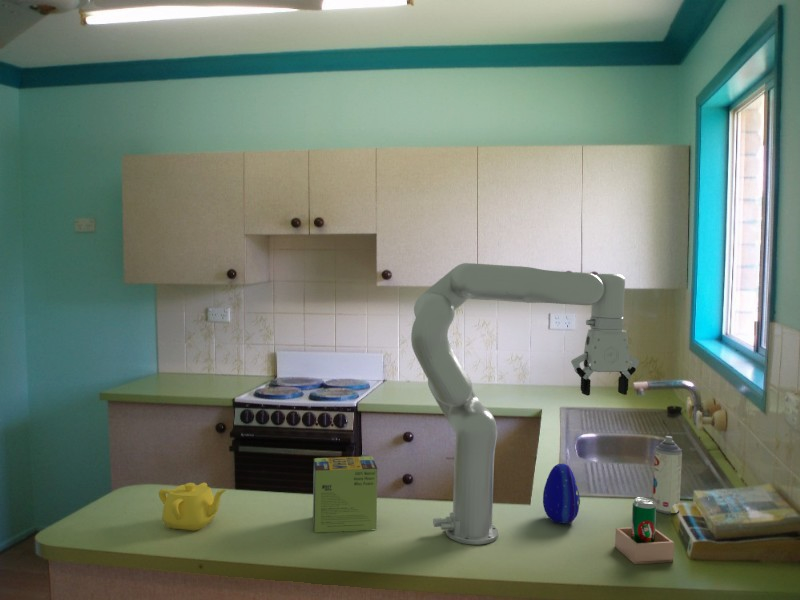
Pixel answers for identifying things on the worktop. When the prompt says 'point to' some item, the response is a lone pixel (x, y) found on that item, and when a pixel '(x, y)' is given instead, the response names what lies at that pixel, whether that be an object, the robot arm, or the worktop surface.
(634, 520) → the soda can
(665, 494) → the aerosol can
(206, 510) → the teapot
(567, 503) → the ornament
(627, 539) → the box
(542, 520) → the worktop surface
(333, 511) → the protein box
